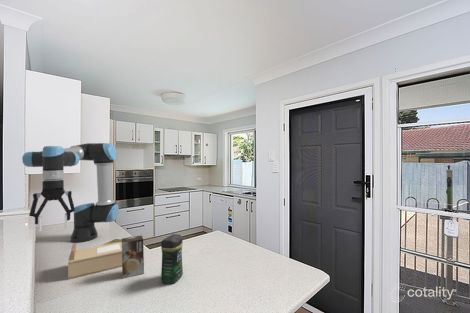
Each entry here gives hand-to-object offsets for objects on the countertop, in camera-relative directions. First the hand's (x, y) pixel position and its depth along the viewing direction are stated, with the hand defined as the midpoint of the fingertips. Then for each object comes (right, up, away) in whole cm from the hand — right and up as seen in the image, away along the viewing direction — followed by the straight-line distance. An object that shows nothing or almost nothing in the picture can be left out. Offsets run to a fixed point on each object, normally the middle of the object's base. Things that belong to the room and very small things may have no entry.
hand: (53, 229), depth 102 cm
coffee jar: (+55, -21, -4) cm, 59 cm away
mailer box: (+16, -21, +10) cm, 29 cm away
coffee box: (+36, -21, +2) cm, 41 cm away
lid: (+16, -14, +10) cm, 24 cm away
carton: (+10, -22, +29) cm, 38 cm away
